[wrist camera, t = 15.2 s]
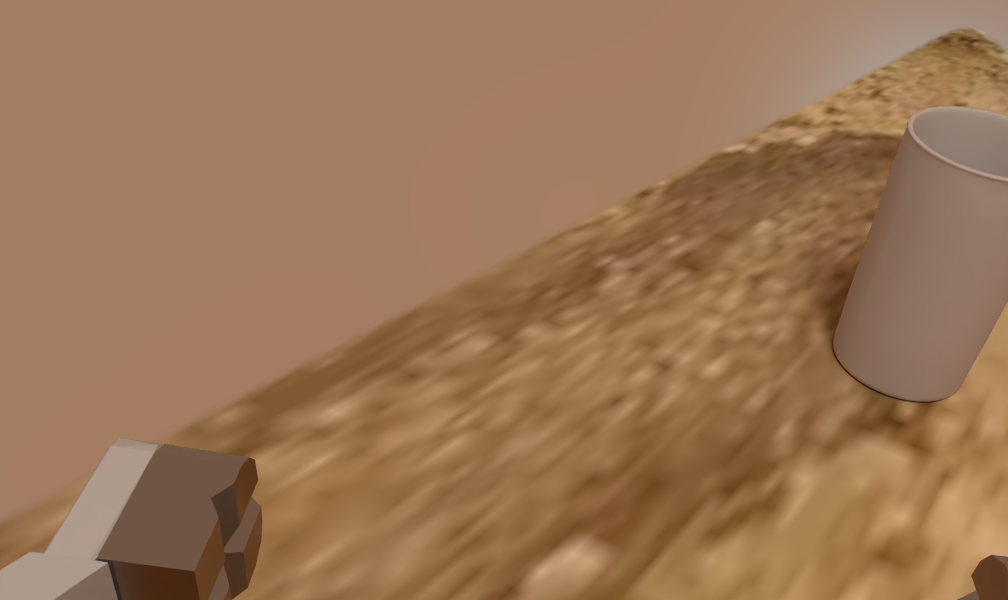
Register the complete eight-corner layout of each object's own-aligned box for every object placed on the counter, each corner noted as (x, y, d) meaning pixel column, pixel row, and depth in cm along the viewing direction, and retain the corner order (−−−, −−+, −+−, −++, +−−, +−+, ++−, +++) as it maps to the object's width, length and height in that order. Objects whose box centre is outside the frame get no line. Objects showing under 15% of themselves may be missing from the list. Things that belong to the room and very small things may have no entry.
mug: (982, 419, 43) (1102, 194, 36) (835, 394, 44) (925, 167, 37) (937, 293, 51) (1029, 89, 44) (813, 273, 52) (883, 68, 45)
